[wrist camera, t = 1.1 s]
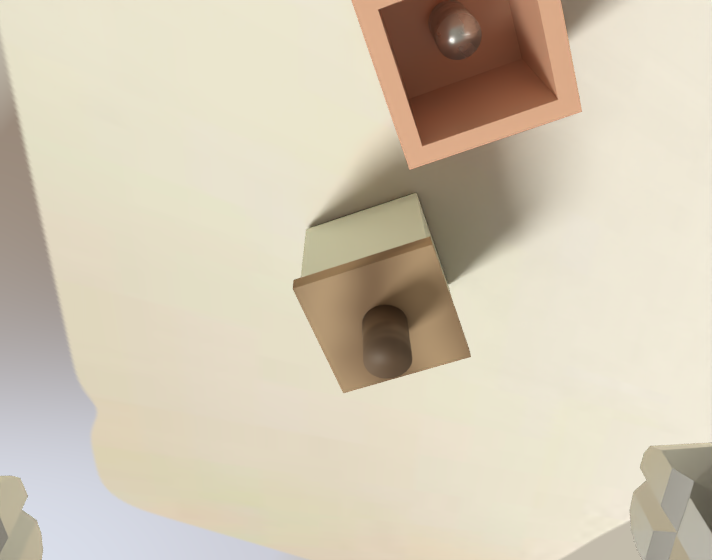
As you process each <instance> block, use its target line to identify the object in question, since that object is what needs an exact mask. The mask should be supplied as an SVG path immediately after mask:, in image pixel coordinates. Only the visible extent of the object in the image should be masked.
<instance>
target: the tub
mask: <svg viewBox="0 0 712 560" xmlns="http://www.w3.org/2000/svg"><path fill="white" fill-rule="evenodd" d="M427 237H431V234H430V231H429V228H428V225H427V222H426V219H425V216H424V213H423V210H422V207H421V205H420V202H419V199H418V196H417V193H414V194H411V195H408V196H405V197H402V198H399V199H396V200H393V201H390V202H387V203H384V204H381V205H378V206H375V207H372V208H369V209H366V210H363V211H360V212H357V213H354V214H351V215H348V216H345V217H342V218H339V219H336V220H333V221H330V222H327V223H324V224H321V225H318V226H315V227H311V228H308V229H306V235H305V244H304V253H303V262H302V272H301V277H305V276H308V275H311V274H314V273H317V272H320V271H323V270H326V269H330V268H333V267H336V266H339V265H342V264H345V263H348V262H351V261H355V260H358V259H361V258H364V257H367V256H370V255H373V254H376V253H380V252H383V251H386V250H389V249H392V248H395V247H398V246H402V245H405V244H408V243H411V242H414V241H417V240H420V239H423V238H427ZM431 240H432V237H431ZM432 242H433V240H432ZM433 245H434V242H433ZM434 248H435V245H434ZM435 251H436V248H435ZM436 254H437V251H436ZM437 257H438V254H437ZM438 260H439V257H438ZM439 263H440V260H439ZM440 266H441V263H440ZM441 269H442V266H441ZM442 272H443V269H442ZM443 274H444V272H443ZM444 277H445V275H444ZM445 280H446V278H445ZM446 283H447V280H446ZM447 286H448V283H447ZM448 289H449V286H448ZM449 292H450V290H449ZM450 295H451V294H450Z"/></svg>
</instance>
